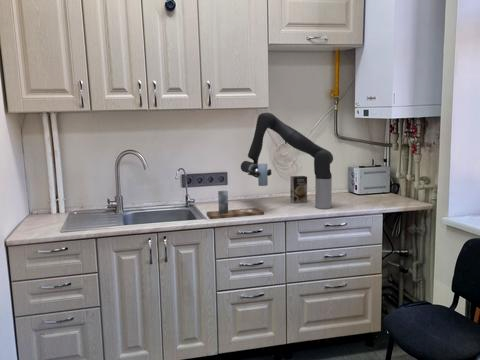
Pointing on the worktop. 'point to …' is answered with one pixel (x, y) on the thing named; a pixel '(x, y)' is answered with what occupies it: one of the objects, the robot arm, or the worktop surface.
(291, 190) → the coffee box
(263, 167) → the column
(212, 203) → the worktop surface
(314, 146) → the robot arm
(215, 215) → the board
